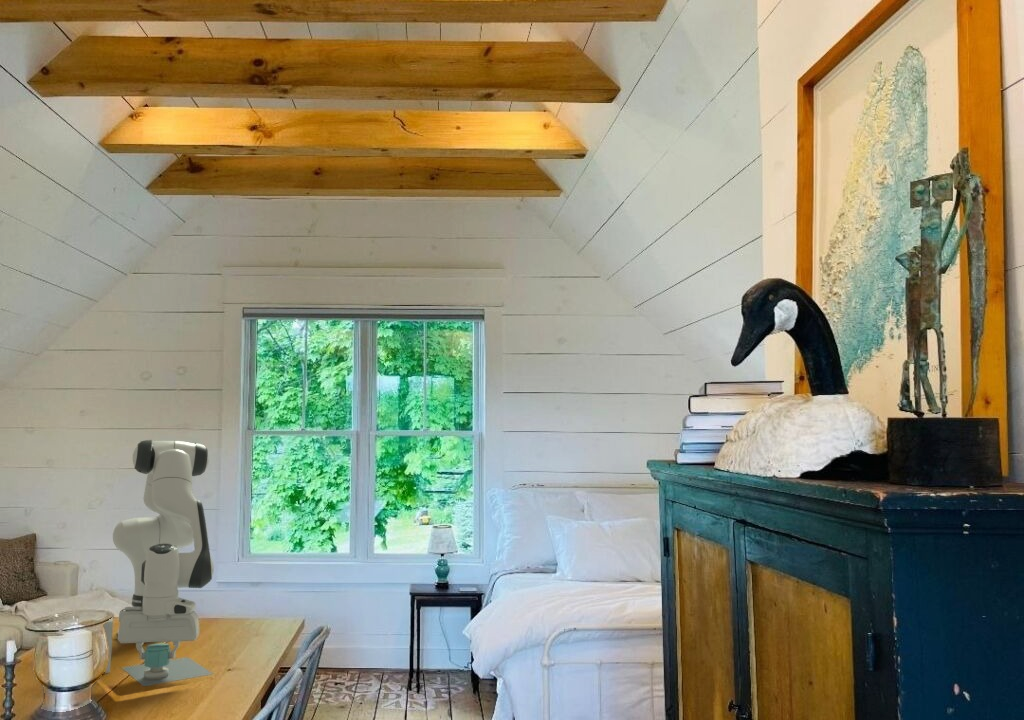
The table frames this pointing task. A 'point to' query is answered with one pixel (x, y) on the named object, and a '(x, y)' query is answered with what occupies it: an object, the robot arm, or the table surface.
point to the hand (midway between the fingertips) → (157, 658)
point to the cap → (157, 655)
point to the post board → (173, 672)
